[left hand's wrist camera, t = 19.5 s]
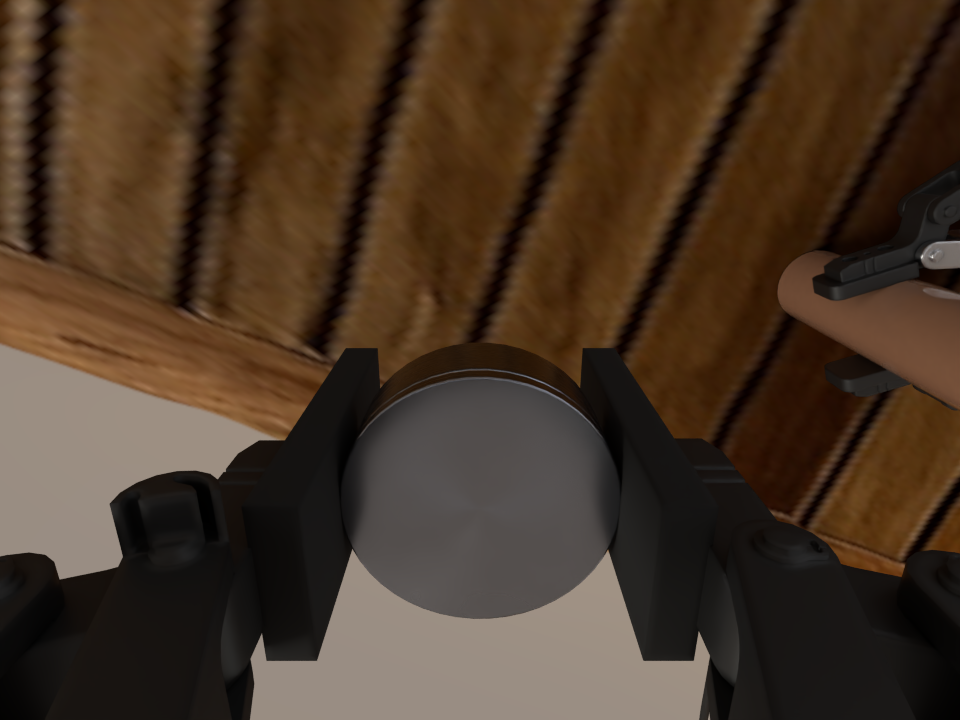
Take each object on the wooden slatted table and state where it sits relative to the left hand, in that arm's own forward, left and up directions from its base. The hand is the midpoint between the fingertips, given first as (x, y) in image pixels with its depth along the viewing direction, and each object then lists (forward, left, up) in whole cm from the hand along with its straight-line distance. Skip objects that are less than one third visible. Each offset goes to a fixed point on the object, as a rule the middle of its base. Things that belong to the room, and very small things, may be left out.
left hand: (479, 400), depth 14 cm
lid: (0, 0, +4) cm, 4 cm away
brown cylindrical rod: (-4, +19, -21) cm, 28 cm away
